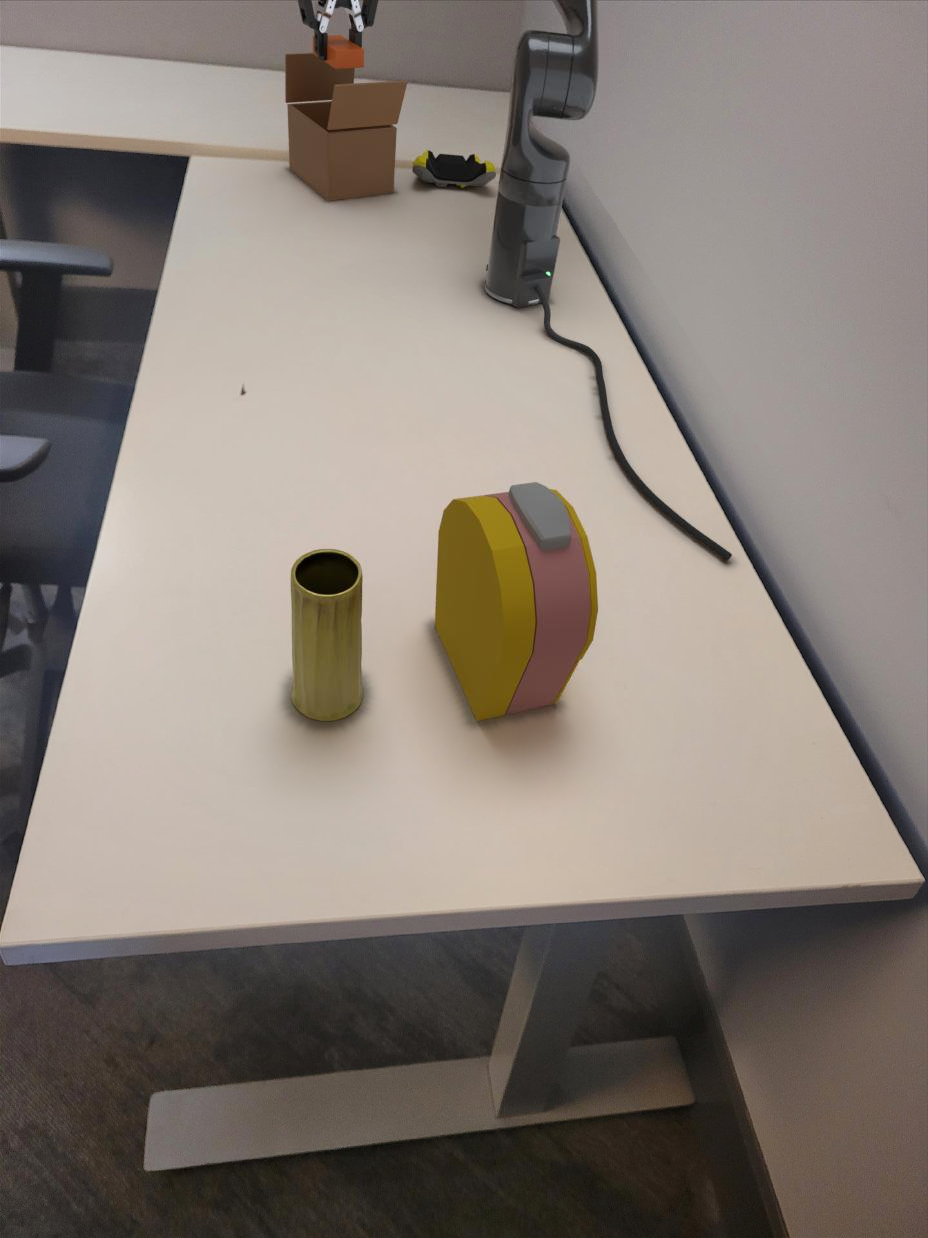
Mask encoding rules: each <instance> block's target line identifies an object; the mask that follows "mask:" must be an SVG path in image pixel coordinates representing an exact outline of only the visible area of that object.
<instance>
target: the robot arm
mask: <svg viewBox="0 0 928 1238" xmlns="http://www.w3.org/2000/svg"><path fill="white" fill-rule="evenodd" d="M551 2H552V3H553V5H554V7H555V8H556V9H557V11H558V13H559V15H560V17H561V19H562V21H563V24H564V27H565V31H566V33H563V32H557V31H549V30H548V31H547V30H540V29H526V30H524V31H522V33H521V34H520V35H519V37H518V39H517V41H516V45H515V49H514V53H513V57H512V58H513V59H512V66H511V67H512V68H511V69H512V70H511V77H510V79H511V80H510V89H509V90H510V91H509V104H508V113H507V123H506V132H505V138H504V145H503V152H502V158H501V166H500V173H499V180H498V186H497V187H498V188H497V195H496V203H495V210H494V218H493V225H492V234H491V241H490V248H489V256H488V263H486V268H485V271H486V279H485V281H484V291H485V292H486V293H487V294H488V296H489V297H491V298H493V299H495V300H496V301H499V302H502V303H505V304H508V305H511V306H513V307H515V308H517V309H519V308H524V307H529V306H532V305H537V304H541V305H542V308H543V328H544V330H545V332H546V333H547V335H548V336H549V337H550V338H551V339H552V340H554V341H555V342H557V343H559V344H562V345H564V346H567V347H569V348H572V349H575V350H578V351H581V352H583V353H584V354H586V355H588V356H589V358H591V360H592V362H593V364H594V367H595V374H596V377H595V378H596V382H597V387H598V392H599V402H600V408H601V413H602V419H603V424H604V428H605V432H606V436H607V440H608V442H609V445H610V447H611V449H612V451H613V453H614V455H615V458H616V459H617V461H618V463H619V465H620V466H621V468H622V469H623V471H624V473H625V474H626V475H627V477H628V478H629V479H630V480H631V482H632V483H633V484H634V486H636V488H637V489H638V490H639V491H640V492H641V493H642V494H643V495H644V497H646V498H647V499H648V500H649V501H650V502H651V504H653V505H654V506H655V507H656V508H657V509H658V510H660V511H661V512H662V513H663V514H664V515H666V516H667V517H668V518H669V519H670V520H672V521H673V523H675V524H676V525H678V526H679V527H680V528H681V529H683V530H684V532H687V533H688V534H689V535H690V536H691V537H693V538H695V539H696V540H697V541H699V542H700V543H701V544H703V545H704V546H706V547H707V548H708V549H710V550H711V551H713V552H714V553H715V554H717V555H718V556H719V557H721V558H722V559H724V560H725V561H729V560H730V559H731V558H732V556H733V554H732V553H731V552H730V551H729V550H727V549H726V548H724V547H723V546H721V545H720V544H718V543H717V542H715V541H714V540H713V539H711V538H710V537H709V536H707V535H706V534H704V533H703V532H701V531H700V530H699V529H698V528H696V527H695V526H693V525H692V524H691V523H690V522H688V521H687V520H686V519H685V518H683V517H682V516H681V515H679V513H677V512H676V511H675V510H673V508H671V507H670V506H669V505H667V504H666V503H665V502H664V501H663V500H662V499H661V498H659V497H658V495H656V494H655V492H653V490H651V489H650V488H649V487H648V486H647V485H646V483H645V482H644V481H643V480H642V479H641V477H640V476H639V475H638V474H637V472H636V471H635V470H634V469H633V467H632V466H631V464H630V463H629V461H628V459H627V458H626V455H625V454H624V452H623V450H622V448H621V446H620V444H619V441H618V439H617V437H616V434H615V430H614V426H613V423H612V417H611V413H610V408H609V403H608V396H607V388H606V383H605V378H604V371H603V363H602V361H601V358H600V356H599V355H598V353H597V352H595V351H594V350H593V349H592V348H591V347H589V346H588V345H586V344H584V343H581V342H579V341H576V340H571V339H568V338H565V337H563V336H562V335H559V334H558V333H556V331H554V329H553V328H552V326H551V315H552V314H551V308H550V307H551V306H550V304H549V301H550V296H551V292H552V285H553V281H554V275H555V269H556V265H557V259H558V253H559V248H560V245H561V244H560V243H561V238H560V236H558V228H559V223H560V218H561V211H562V207H563V201H564V196H565V191H566V186H567V181H568V175H569V170H570V165H571V156H570V153H569V151H568V150H567V149H566V148H565V147H564V146H563V145H561V144H560V143H558V142H556V141H555V140H553V139H552V138H550V137H548V136H546V135H545V134H544V133H542V132H541V131H540V130H539V129H537V127H535V125H534V124H533V123H532V122H533V121H532V119H533V117H537V118H546V119H552V120H553V119H555V120H562V121H580V120H582V119H585V118H586V117H587V115H589V113H590V112H591V110H592V108H593V105H594V102H595V98H596V95H597V88H598V82H599V81H598V80H599V15H598V13H599V11H598V0H551ZM297 4H298V8H299V13H300V19H301V22H302V24H303V25H304V26H307V27H308V28H310V29H312V30H313V33H314V34H313V36H314V42H315V43H314V45H315V53H316V54H317V55H318V58H319V59H321V60H322V61H325V60H327V45H328V35H329V34H328V33H327V30H328V26H329V22H330V18H332V17H333V14H334V10H335V9H339V8H344V11H345V13H346V15H347V19H348V22H349V23H348V24H349V26H350V28H348V40H349V41H351V42H353V43H354V44H356V45H358V46H359V47H361V48H363V32H364V30H365V29H366V28H369V27H370V28H371V27H373V26H374V24H375V18H376V14H377V10H378V9H377V8H378V5H379V0H362V4H361V6H360V1H359V0H316V2H315V7H314V6H313V1H312V0H297ZM314 8H315V12H314Z"/></svg>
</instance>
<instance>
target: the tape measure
mask: <svg viewBox="0 0 928 1238" xmlns="http://www.w3.org/2000/svg"><path fill="white" fill-rule="evenodd" d="M437 533H438V535H437V558H436V559H437V560H436V584H435V586H436V587H435V608H434V609H435V611H434V627H435V630H436V632H437V635H438V637H439V640H440V641H441V644H442V646H443V649H444V650H445V652H446V655H447V657H448V659H449V663H450V664H451V666H452V669H453V671H454V674H455V675H456V678H457V680H458V681H459V682H458V683H459V684H460V687H461V689H462V691H463V694H464V697H465V699H466V700H467V703H468V706H469V707H470V709H471V712H472V714H473V716H474V719H475V721H476V722H480V721H485V720H490V719H494V718H498V717H502V716H503V717H504V716H506V715H512V714H516V713H517V714H518V713H520V712H525V711H529V710H535V709H539V708H544V707H547V706H548V707H549V706H552V705H557V703H558V701H559V700H560V698H561V696H562V694H563V693H564V690H565V688H566V687H567V685H568V683H569V682H570V679H571V677H572V676H573V674H574V672H575V670H576V668H577V667H578V664H579V662H580V661H581V660H583V658H584V656H585V655H586V653H587V651H588V650H589V648H590V646H591V645H592V644H593V641H594V638H595V631H596V625H597V620H598V613H599V602H598V600H599V597H598V581H597V580H598V579H597V571H596V567H595V562H594V558H593V554H592V550H591V549H592V548H591V546H590V541H589V538H588V537H589V536H588V535H587V532H586V531H585V529H584V526H583V524H582V523H581V520H580V518H579V516H578V514H577V512H576V510H575V508H574V506H573V505H572V504H571V503H570V502H569V501H568V500H567V499H566V497H564V496H563V495H562V494H561V493H560V492H559V491H558V489H553V488H549V487H548V486H546V485H544V484H542V483H540V482H537V481H536V482H535V481H534V482H525V483H519V484H511V486H510V487H509V490H508V491H504V492H497V493H490V494H489V493H488V494H484V495H483V494H481V495H474V496H466V497H460V498H453V499H452V500H451V501H450V502H449V503H448V505H447V506H445V508H444V509H443V511H442V516H441V521H440V524H439V528H438V532H437Z"/></svg>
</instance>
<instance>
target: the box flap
mask: <svg viewBox="0 0 928 1238" xmlns="http://www.w3.org/2000/svg"><path fill="white" fill-rule="evenodd" d="M407 86H408V81H407V80H392V81H391V80H389V81H373V82H354V84H336V85H334V91H333V97H332V100H331V101H332V103H331V109H330V115H329V121H328V127H327V129H328V130H333V129H345V128H357V127H370V126H382V125H393V126H395V125H398V124H399V119H400V115H401V111H402V107H403V103H404V98H405V94H406V91H407Z"/></svg>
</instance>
